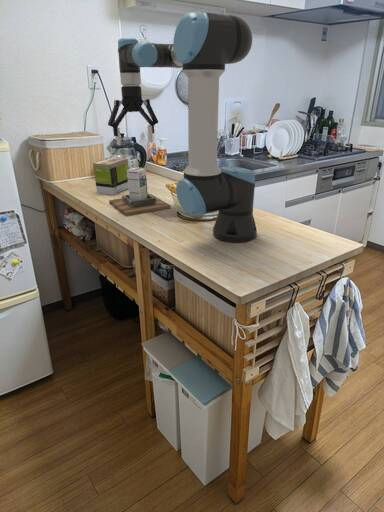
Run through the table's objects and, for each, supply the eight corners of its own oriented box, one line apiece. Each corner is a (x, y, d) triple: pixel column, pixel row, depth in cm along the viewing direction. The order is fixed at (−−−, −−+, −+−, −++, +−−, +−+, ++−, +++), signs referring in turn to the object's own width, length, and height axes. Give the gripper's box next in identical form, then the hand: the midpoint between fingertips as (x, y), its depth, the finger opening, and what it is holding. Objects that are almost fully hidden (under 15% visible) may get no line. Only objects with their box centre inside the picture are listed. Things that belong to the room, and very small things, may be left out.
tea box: (114, 186, 193) (112, 156, 187) (131, 188, 189) (128, 158, 183) (96, 193, 181) (92, 162, 175) (113, 195, 177) (109, 164, 171)
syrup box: (140, 205, 157) (138, 170, 151) (129, 203, 160) (126, 169, 154) (148, 201, 162) (146, 168, 156) (137, 200, 164) (134, 166, 158)
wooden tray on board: (170, 208, 158) (170, 199, 157) (125, 216, 149) (124, 206, 148) (150, 197, 174) (150, 188, 172) (109, 203, 165) (108, 194, 163)
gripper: (156, 85, 150) (159, 140, 159) (95, 85, 139) (102, 144, 148) (165, 85, 144) (167, 142, 153) (102, 86, 133) (108, 147, 142)
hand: (135, 143), depth 151 cm, fingers open, 13 cm apart
